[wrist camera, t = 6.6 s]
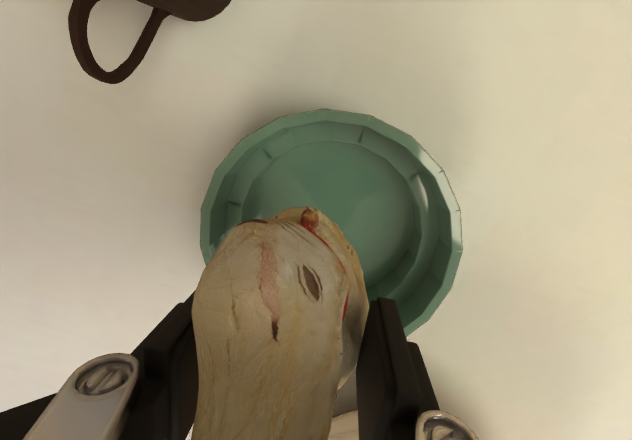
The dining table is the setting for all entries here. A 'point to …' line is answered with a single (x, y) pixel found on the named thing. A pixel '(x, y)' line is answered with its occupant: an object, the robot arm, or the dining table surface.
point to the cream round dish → (345, 427)
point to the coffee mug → (185, 3)
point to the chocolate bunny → (277, 328)
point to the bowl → (349, 200)
